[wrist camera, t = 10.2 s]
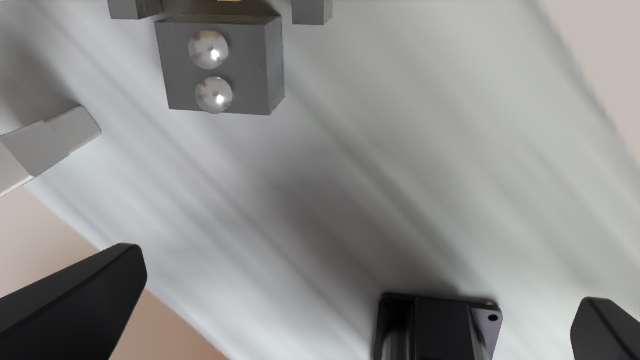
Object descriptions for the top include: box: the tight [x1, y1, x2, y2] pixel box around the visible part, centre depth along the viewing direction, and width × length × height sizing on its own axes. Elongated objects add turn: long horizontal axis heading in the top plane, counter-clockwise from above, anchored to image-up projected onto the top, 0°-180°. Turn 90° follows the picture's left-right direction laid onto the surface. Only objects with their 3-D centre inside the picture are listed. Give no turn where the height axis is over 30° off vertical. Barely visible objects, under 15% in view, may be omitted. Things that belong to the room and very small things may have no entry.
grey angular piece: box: [0, 105, 102, 197], centre depth 19 cm, size 7×2×8 cm, turn 119°
